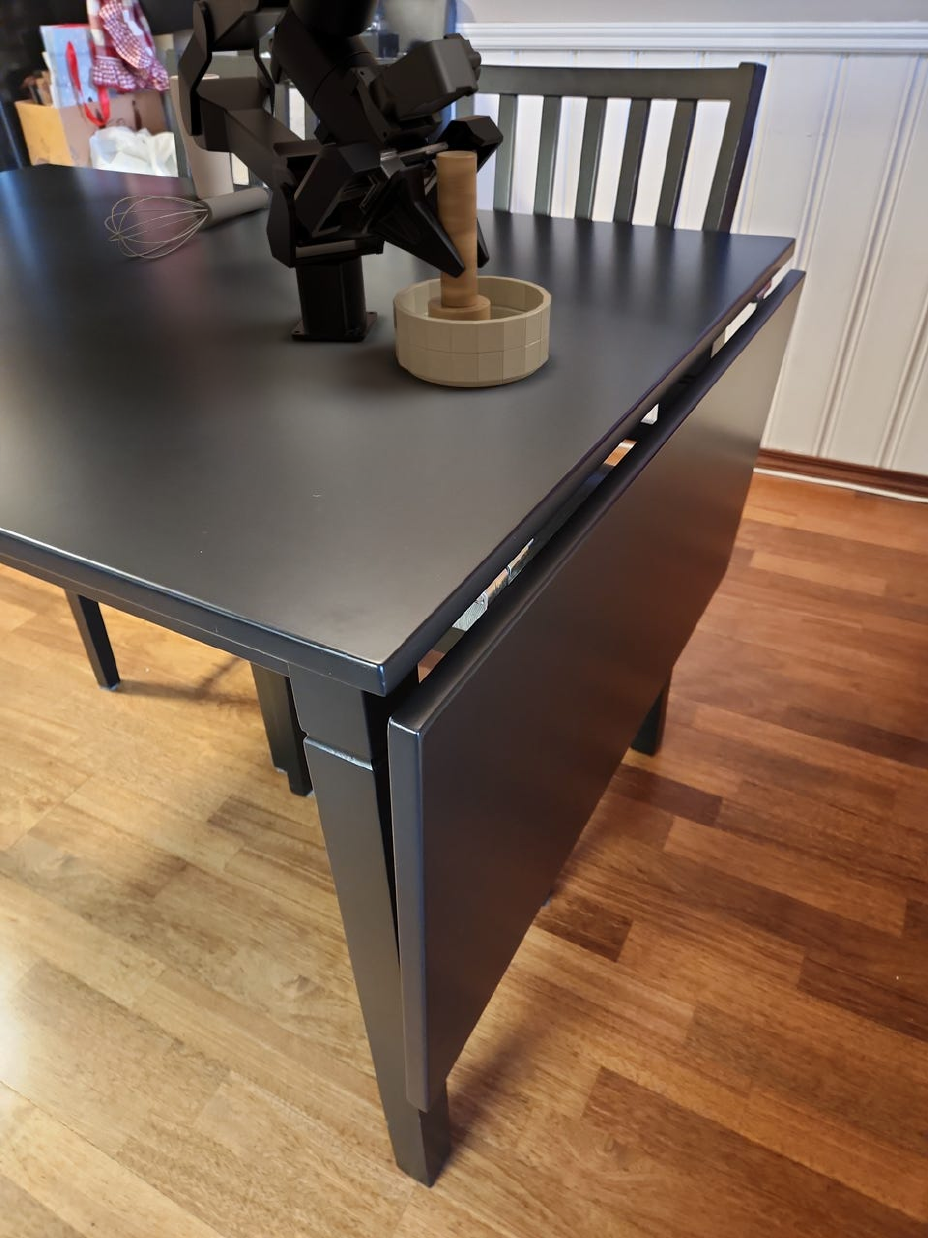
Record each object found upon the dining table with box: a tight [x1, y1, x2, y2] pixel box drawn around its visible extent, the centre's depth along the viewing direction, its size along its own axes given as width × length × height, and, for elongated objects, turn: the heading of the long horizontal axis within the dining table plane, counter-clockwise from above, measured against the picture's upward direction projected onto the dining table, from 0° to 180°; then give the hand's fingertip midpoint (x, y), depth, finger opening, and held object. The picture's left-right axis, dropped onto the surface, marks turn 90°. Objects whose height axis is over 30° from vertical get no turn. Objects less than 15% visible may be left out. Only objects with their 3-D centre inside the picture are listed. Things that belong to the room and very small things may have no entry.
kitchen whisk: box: [103, 186, 270, 259], centre depth 102 cm, size 6×34×6 cm, turn 163°
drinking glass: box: [168, 73, 235, 200], centre depth 116 cm, size 7×7×15 cm
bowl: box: [392, 275, 552, 388], centre depth 65 cm, size 12×12×5 cm
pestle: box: [428, 151, 490, 321], centre depth 61 cm, size 5×5×14 cm
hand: (473, 269), depth 61 cm, fingers closed on pestle, 3 cm apart
